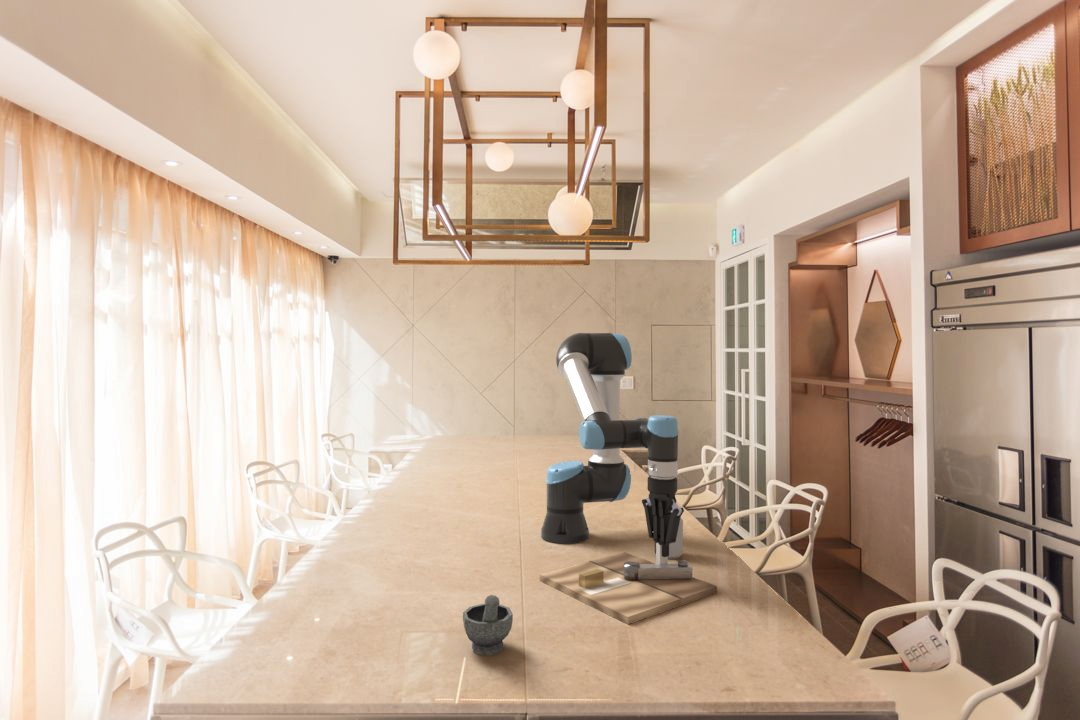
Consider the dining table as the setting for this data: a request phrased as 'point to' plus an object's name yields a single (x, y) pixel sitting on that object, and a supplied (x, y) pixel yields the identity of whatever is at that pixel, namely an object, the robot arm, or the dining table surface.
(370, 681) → the dining table surface
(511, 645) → the dining table surface
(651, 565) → the bar
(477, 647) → the mortar and pestle
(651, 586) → the door board
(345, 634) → the dining table surface
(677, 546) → the can
